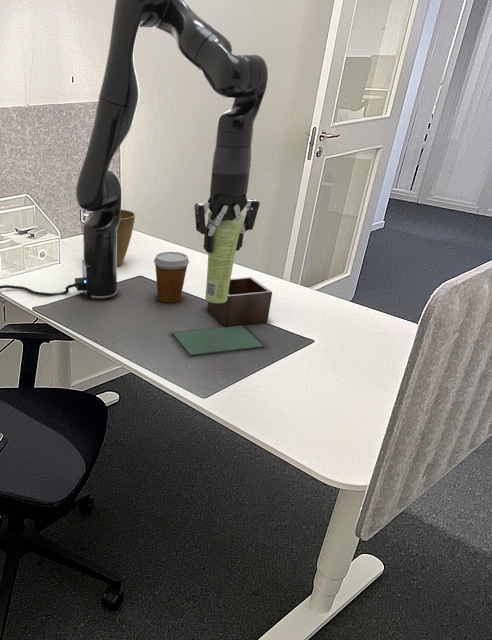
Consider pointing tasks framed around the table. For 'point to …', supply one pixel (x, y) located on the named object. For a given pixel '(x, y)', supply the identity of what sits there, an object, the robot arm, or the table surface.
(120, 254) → the plant pot
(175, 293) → the disposable coffee cup
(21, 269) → the table surface
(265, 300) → the box
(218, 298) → the tube
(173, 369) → the table surface
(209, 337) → the felt mat
